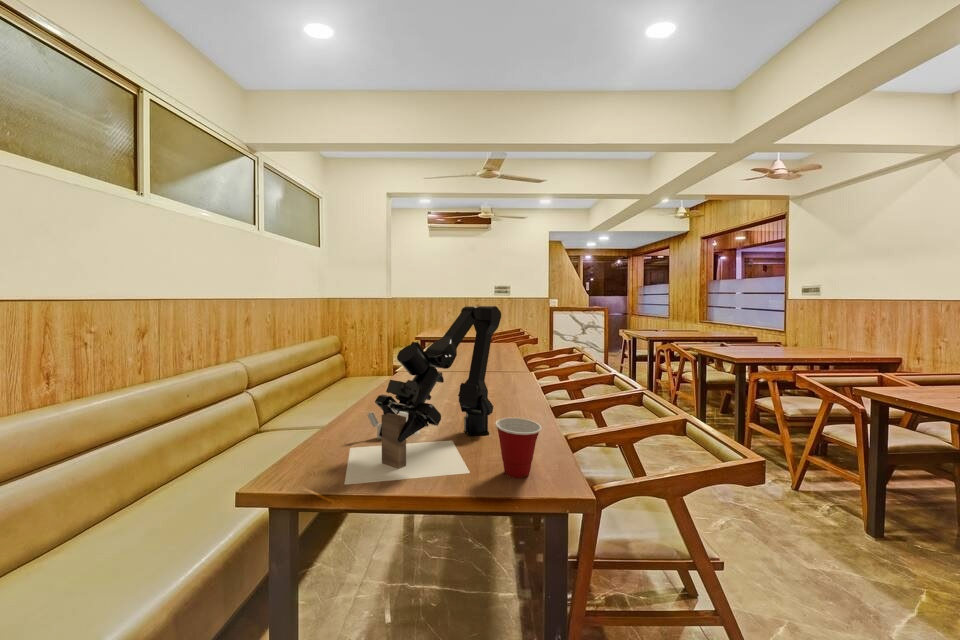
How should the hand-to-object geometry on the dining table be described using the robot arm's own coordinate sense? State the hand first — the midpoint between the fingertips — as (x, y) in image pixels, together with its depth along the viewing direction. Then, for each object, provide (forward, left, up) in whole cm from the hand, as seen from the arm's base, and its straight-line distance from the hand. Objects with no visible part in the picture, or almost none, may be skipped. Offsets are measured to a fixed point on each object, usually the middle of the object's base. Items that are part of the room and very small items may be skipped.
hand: (389, 439), depth 103 cm
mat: (-4, -4, -7) cm, 9 cm away
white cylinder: (-7, -27, -7) cm, 29 cm away
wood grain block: (-1, -1, -7) cm, 7 cm away
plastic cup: (-29, +10, -7) cm, 32 cm away
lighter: (+2, -23, -7) cm, 24 cm away
